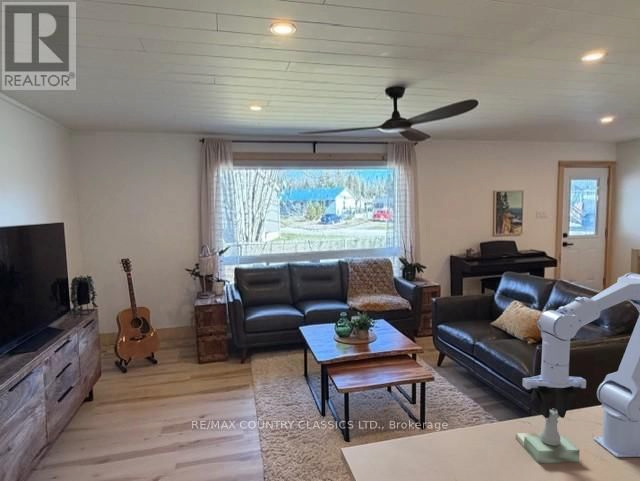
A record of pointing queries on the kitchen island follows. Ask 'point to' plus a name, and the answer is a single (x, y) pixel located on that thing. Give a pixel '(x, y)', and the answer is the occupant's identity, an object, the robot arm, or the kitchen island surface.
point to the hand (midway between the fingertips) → (552, 415)
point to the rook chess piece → (551, 429)
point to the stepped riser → (548, 449)
